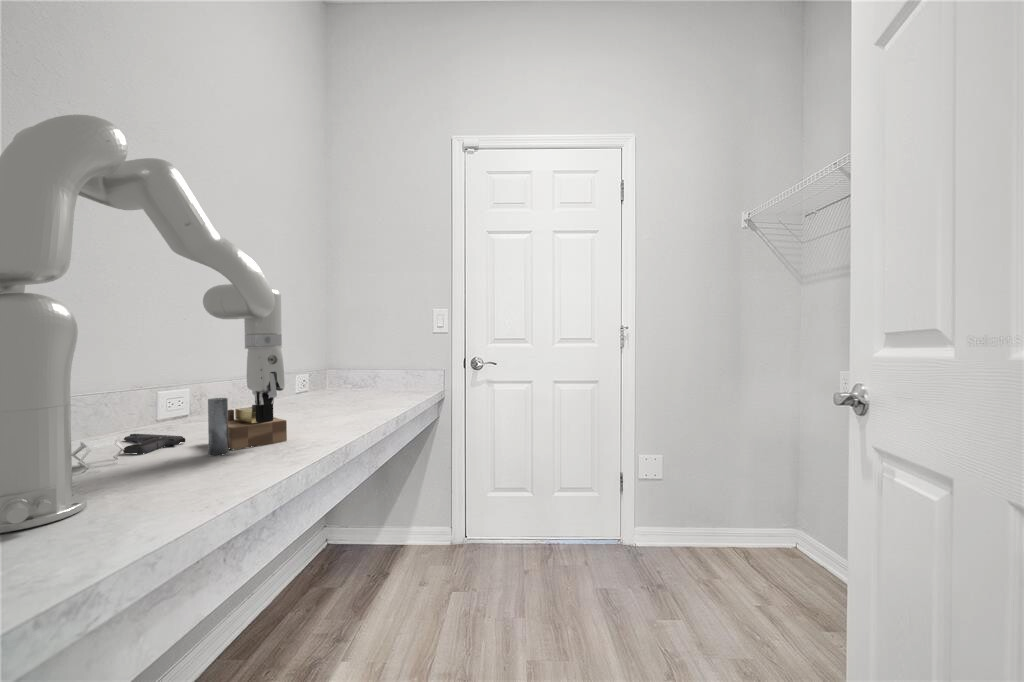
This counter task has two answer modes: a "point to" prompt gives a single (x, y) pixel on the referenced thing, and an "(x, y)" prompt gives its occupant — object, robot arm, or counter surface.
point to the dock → (254, 432)
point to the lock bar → (246, 414)
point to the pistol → (150, 442)
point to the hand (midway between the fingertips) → (264, 421)
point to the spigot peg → (218, 426)
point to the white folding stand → (95, 445)
